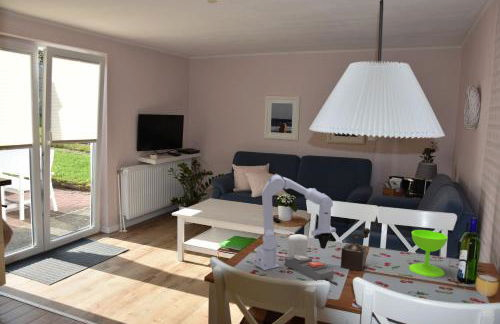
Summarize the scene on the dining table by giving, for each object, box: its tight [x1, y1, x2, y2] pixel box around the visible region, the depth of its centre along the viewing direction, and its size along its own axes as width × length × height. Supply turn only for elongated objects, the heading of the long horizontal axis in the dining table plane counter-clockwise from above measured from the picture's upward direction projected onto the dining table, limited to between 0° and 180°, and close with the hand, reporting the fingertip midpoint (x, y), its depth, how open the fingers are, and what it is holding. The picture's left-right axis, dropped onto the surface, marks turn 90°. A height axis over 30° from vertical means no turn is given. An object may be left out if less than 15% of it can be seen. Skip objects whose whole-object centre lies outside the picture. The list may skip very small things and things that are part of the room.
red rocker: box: [308, 261, 325, 267], centre depth 184 cm, size 6×4×1 cm, turn 125°
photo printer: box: [286, 233, 309, 258], centre depth 207 cm, size 10×4×12 cm, turn 98°
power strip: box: [284, 255, 339, 286], centre depth 186 cm, size 8×30×4 cm, turn 35°
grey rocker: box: [294, 255, 310, 261], centre depth 192 cm, size 6×4×1 cm, turn 125°
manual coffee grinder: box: [340, 227, 371, 272], centre depth 199 cm, size 16×11×18 cm
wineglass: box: [408, 229, 448, 278], centre depth 195 cm, size 16×16×18 cm
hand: (322, 248), depth 194 cm, fingers closed
